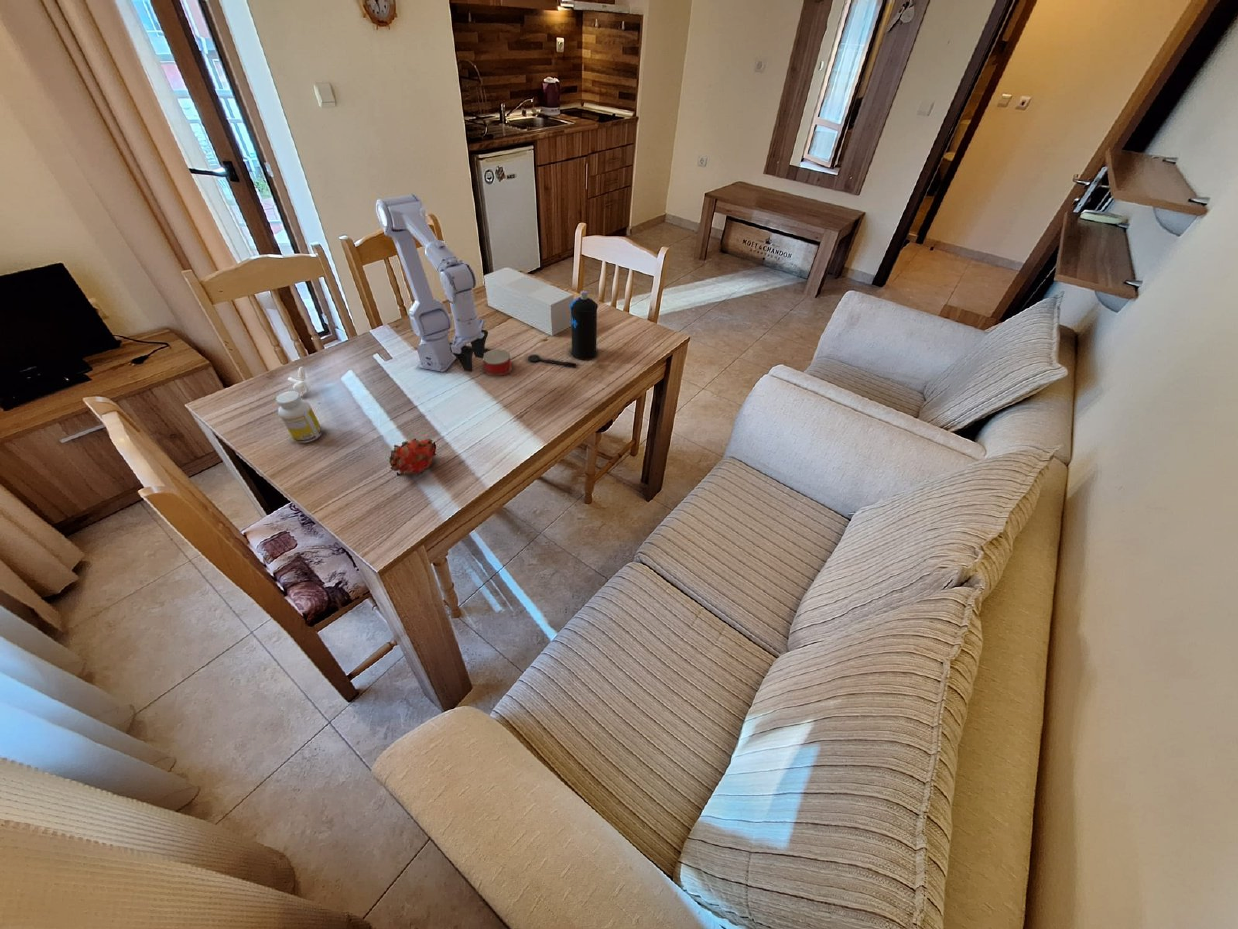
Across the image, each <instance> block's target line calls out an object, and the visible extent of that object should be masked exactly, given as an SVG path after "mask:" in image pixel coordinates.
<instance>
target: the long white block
mask: <svg viewBox="0 0 1238 929" xmlns="http://www.w3.org/2000/svg"><path fill="white" fill-rule="evenodd" d="M483 282H484V287H485V292H486V300H487V305H488V306H489V307H491V308H493V309H495V310H497V311H499V312H501V313H503V314H505V315H507V316H510V317H512V318H513V319H515V320H518V321H520V322H522V323H524V324H526V325H529V326H530V327H533V328H535V329H537V330H539V331H541V332H542V333H545V334H547V335H549V336H552V337H553V336H555V335H557V334H559V333H562V332H563V331H565V330H567V329H569V328H571V308H570V304H571V303H572V302H573V301H574V300H575V299H574V296H575V295H574V293H570V292H568V291H566V290H564V289H561V288H559V287H556V286H554V285H552V284H549V283H547V282H544V281H542V280H539V279H537V278H535V277H533V276H530V275H527V274H526V273H523V272H520V271H518V270H515V269H514V268H511V267H508V266H506V267H503V268H501V269H498V270H495V271H493V272H490V273H487V274H485V275H483Z"/></svg>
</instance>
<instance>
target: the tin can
mask: <svg viewBox="0 0 1238 929" xmlns="http://www.w3.org/2000/svg"><path fill="white" fill-rule="evenodd" d="M482 361H483V366H484V372H485V373H486V374H487V375H490V376H493V377H500V376H505V375H507V374H509V373H510V372H511V371H512V368H513V367H512V361H511V354H510V352H508V351H507V350H505V349H490V351H488V352H486V353H484V357H483V358H482Z"/></svg>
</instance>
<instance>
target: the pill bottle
mask: <svg viewBox="0 0 1238 929" xmlns="http://www.w3.org/2000/svg"><path fill="white" fill-rule="evenodd" d="M275 401H276V403H277V404H278V406H279V407H278V409H277V412H278V415H279V417H280V418H281V421H282V422H283V424H284V426H285V427H286V429H287V431H288V432H289V434H290V436H291V438H292V439H293V441H295V442H297V443H299V444H300V443H303V444H304V443H305V444H306V443H311V442H313V441H315V440H317V439H318V438H320V437H321V435H322V433H323V428H322V426H321V424H320V422H319V420H318V418H317V417H316V414H315V413H314V410H313V409H312V407H311V404H310V403H309V402H308V401H307V400H305V399H302V396H300V394H299V393H298V392H296V391H293V390H289V391H284V392H282V393H280V394H278V395H277V396H276V398H275Z"/></svg>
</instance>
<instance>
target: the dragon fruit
mask: <svg viewBox="0 0 1238 929" xmlns="http://www.w3.org/2000/svg"><path fill="white" fill-rule="evenodd" d="M436 451H437V444H436V442H435V441H433V440H432V439H430V438H425V439H422V440H420V441H419V440H418V439H417V438H416V437H415V438H412V440H411V441H410V442H409V441H408V440H406V441H402V443H401V445H398V444H394V445H393V450H390V456H389V458H388V459H389V460H388V462H389V464H390V466H391V467H390V469H391V470H392V471H394V472H396V476H397V477H403V476H406V475H407V476H409V475H412V474H417V475H421V476H423V475H424V473H425V471H424V470H425V469H428V468H430V467H431V465H432V464H433V462H434V460H435V457H436V456H437V453H436ZM398 471H399V472H400V473H399V472H398Z"/></svg>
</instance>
